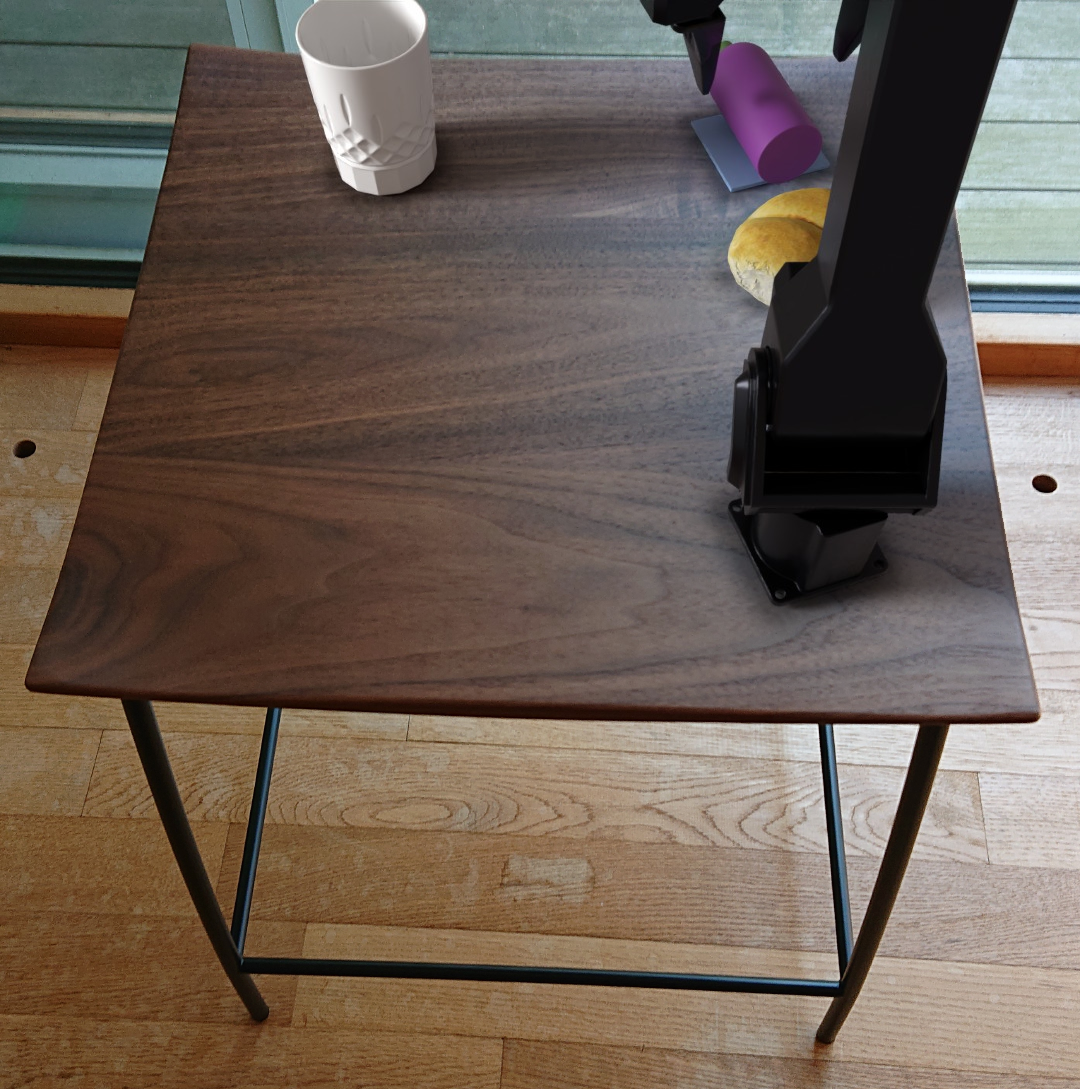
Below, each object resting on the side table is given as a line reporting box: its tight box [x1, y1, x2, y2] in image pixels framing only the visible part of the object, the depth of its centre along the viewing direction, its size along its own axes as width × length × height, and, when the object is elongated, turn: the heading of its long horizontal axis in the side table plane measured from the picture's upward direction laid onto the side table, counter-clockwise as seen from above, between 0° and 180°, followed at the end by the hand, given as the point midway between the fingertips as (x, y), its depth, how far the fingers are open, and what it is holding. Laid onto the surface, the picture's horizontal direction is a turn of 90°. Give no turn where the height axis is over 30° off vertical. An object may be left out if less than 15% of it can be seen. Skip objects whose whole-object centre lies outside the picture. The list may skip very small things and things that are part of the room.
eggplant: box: [709, 40, 823, 184], centre depth 71 cm, size 4×4×11 cm
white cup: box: [295, 0, 438, 196], centre depth 69 cm, size 8×8×10 cm
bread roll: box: [727, 187, 831, 307], centre depth 65 cm, size 8×9×4 cm
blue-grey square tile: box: [690, 113, 831, 193], centre depth 72 cm, size 7×7×1 cm
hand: (771, 74), depth 68 cm, fingers open, 9 cm apart
